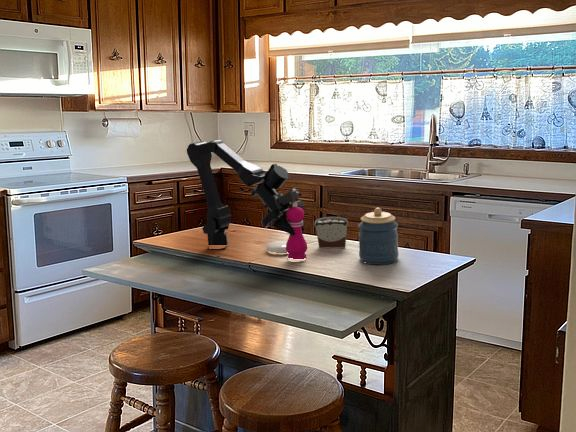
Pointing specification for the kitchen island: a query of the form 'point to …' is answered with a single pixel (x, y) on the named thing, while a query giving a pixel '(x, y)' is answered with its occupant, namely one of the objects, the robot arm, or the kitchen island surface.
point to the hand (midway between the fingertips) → (299, 232)
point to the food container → (331, 232)
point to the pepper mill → (297, 242)
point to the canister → (378, 238)
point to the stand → (277, 247)
